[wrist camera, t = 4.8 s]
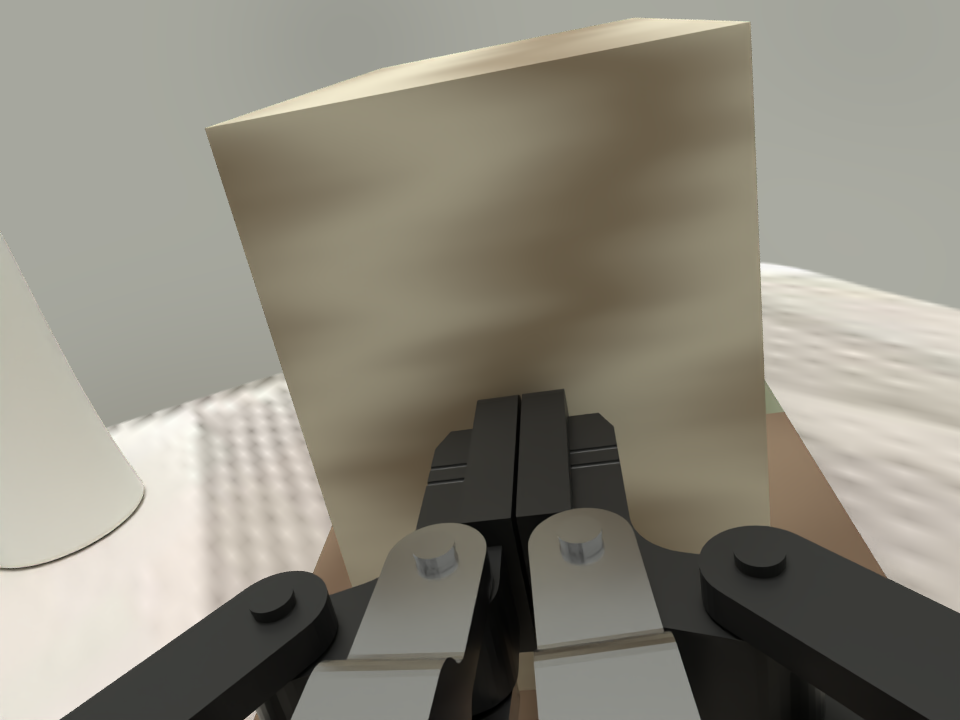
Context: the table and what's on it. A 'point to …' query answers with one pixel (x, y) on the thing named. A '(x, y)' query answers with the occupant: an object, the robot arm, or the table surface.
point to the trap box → (793, 507)
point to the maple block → (518, 267)
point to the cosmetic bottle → (50, 442)
